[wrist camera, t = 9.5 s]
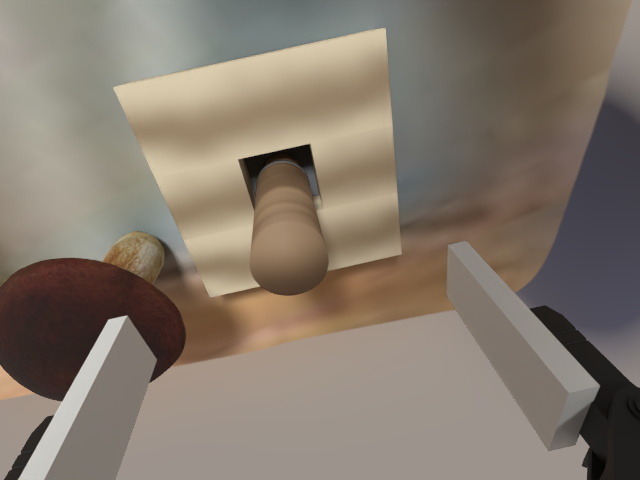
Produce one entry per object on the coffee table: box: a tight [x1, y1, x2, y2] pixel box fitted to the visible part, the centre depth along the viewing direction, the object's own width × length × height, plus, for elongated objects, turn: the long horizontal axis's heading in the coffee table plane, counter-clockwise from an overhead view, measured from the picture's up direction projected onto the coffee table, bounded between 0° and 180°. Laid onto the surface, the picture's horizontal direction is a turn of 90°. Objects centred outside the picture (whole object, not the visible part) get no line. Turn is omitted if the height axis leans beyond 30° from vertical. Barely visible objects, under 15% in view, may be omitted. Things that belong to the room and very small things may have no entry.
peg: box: [250, 153, 329, 296], centre depth 23 cm, size 4×4×14 cm
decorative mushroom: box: [0, 231, 186, 401], centre depth 25 cm, size 11×11×15 cm
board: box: [113, 28, 402, 298], centre depth 28 cm, size 18×18×3 cm
